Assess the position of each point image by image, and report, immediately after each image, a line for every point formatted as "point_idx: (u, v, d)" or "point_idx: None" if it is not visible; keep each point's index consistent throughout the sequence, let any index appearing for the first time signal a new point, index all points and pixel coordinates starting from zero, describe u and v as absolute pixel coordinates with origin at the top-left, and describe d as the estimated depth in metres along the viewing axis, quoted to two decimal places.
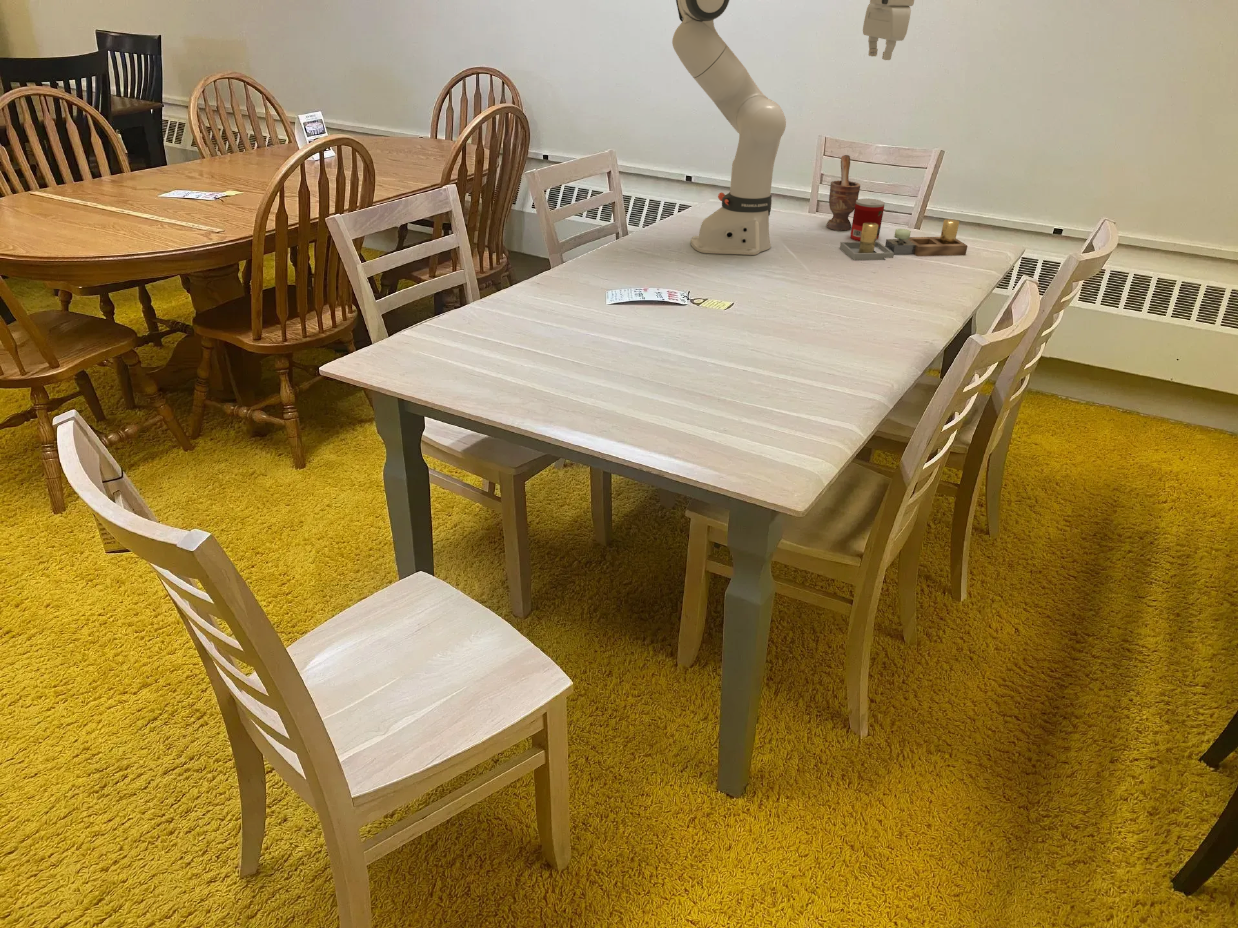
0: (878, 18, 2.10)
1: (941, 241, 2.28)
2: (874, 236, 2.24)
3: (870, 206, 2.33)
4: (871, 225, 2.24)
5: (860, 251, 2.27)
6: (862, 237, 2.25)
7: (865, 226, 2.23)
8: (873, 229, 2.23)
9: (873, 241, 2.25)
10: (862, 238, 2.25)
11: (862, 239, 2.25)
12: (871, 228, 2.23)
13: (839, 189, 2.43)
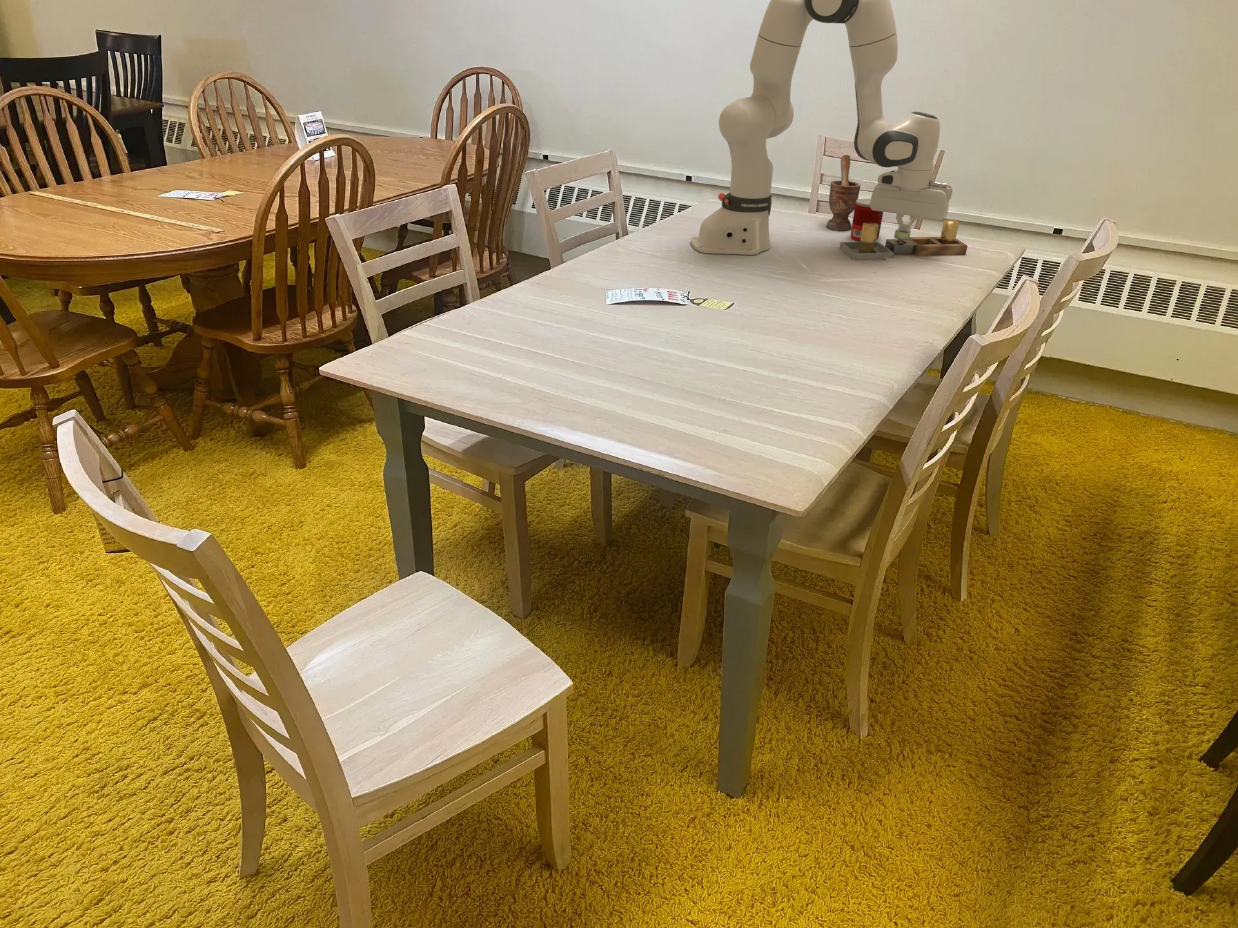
0: None
1: (941, 241, 2.28)
2: (874, 236, 2.24)
3: None
4: (871, 225, 2.24)
5: (860, 251, 2.27)
6: (862, 237, 2.25)
7: (865, 226, 2.23)
8: (873, 229, 2.23)
9: (873, 241, 2.25)
10: (862, 238, 2.25)
11: (862, 239, 2.25)
12: (871, 228, 2.23)
13: (839, 189, 2.43)
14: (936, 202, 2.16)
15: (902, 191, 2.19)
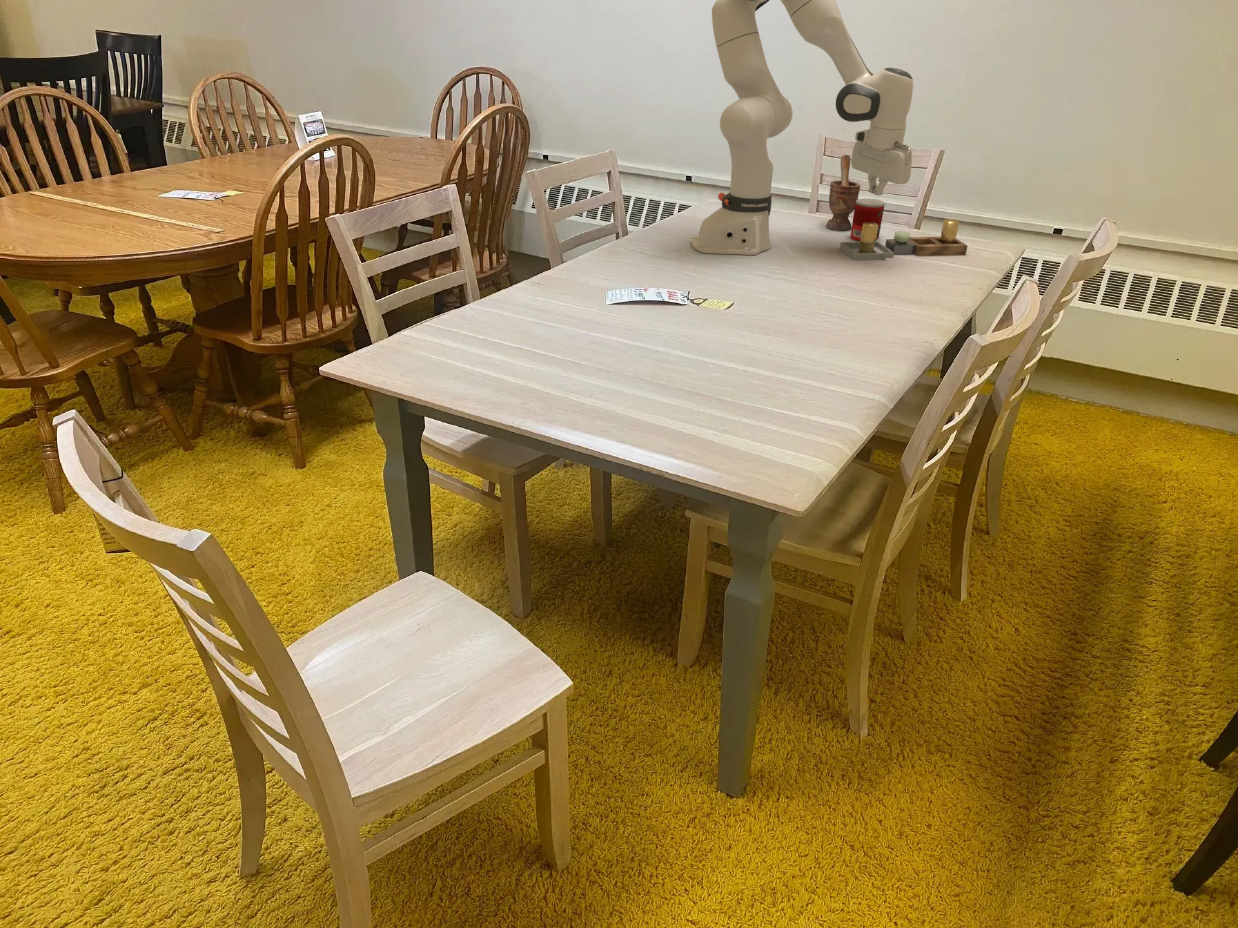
0: None
1: (941, 241, 2.28)
2: (874, 236, 2.24)
3: (870, 206, 2.33)
4: (871, 225, 2.24)
5: (860, 251, 2.27)
6: (862, 237, 2.25)
7: (865, 226, 2.23)
8: (873, 229, 2.23)
9: (873, 241, 2.25)
10: (862, 238, 2.25)
11: (862, 239, 2.25)
12: (871, 228, 2.23)
13: (839, 189, 2.43)
14: (895, 164, 2.09)
15: (871, 150, 2.15)
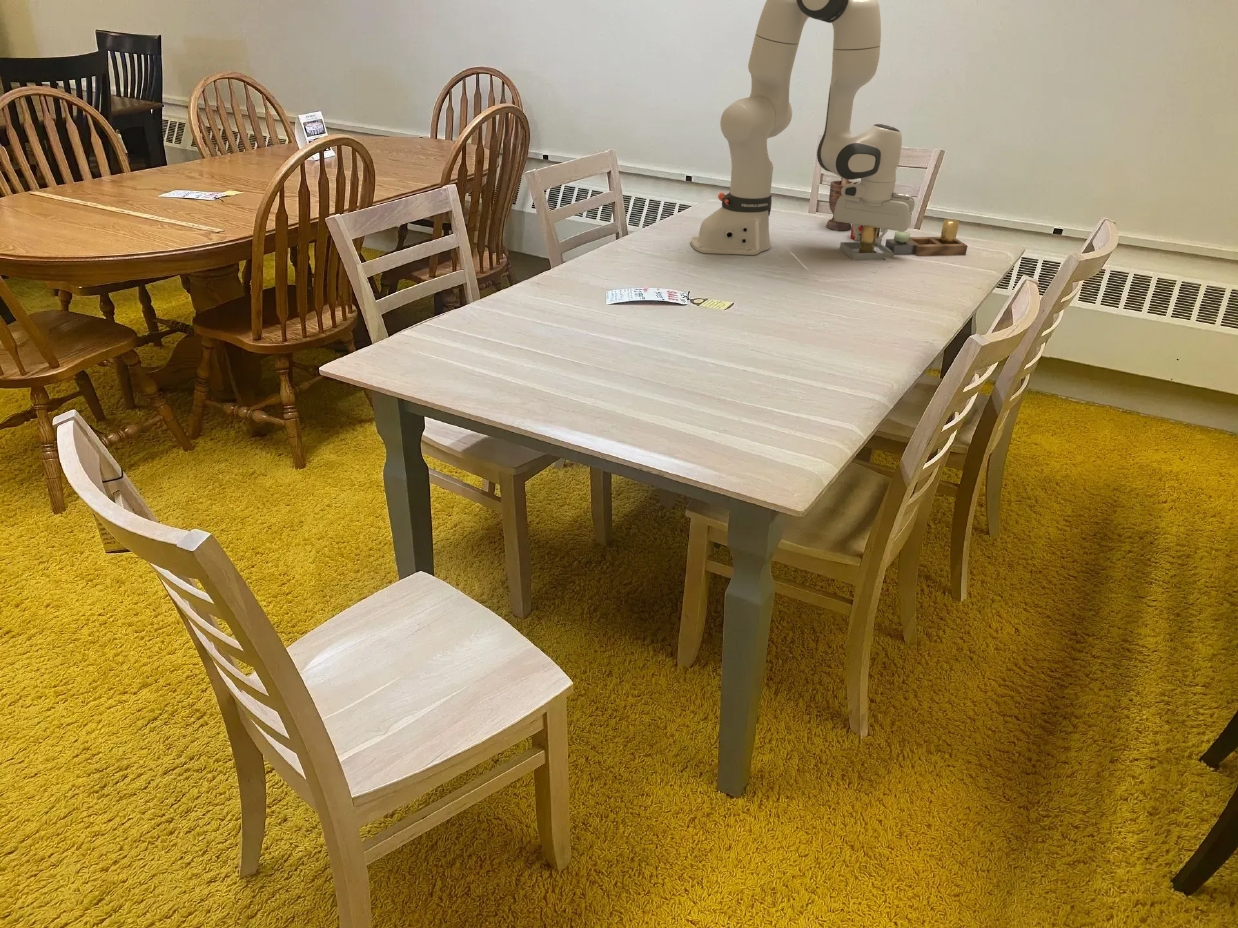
0: None
1: (941, 241, 2.28)
2: (874, 236, 2.24)
3: None
4: None
5: (860, 251, 2.27)
6: (862, 237, 2.25)
7: (865, 226, 2.23)
8: (873, 229, 2.23)
9: (873, 241, 2.25)
10: (862, 238, 2.25)
11: (862, 239, 2.25)
12: (871, 228, 2.23)
13: (839, 189, 2.43)
14: (899, 214, 2.17)
15: (865, 203, 2.20)
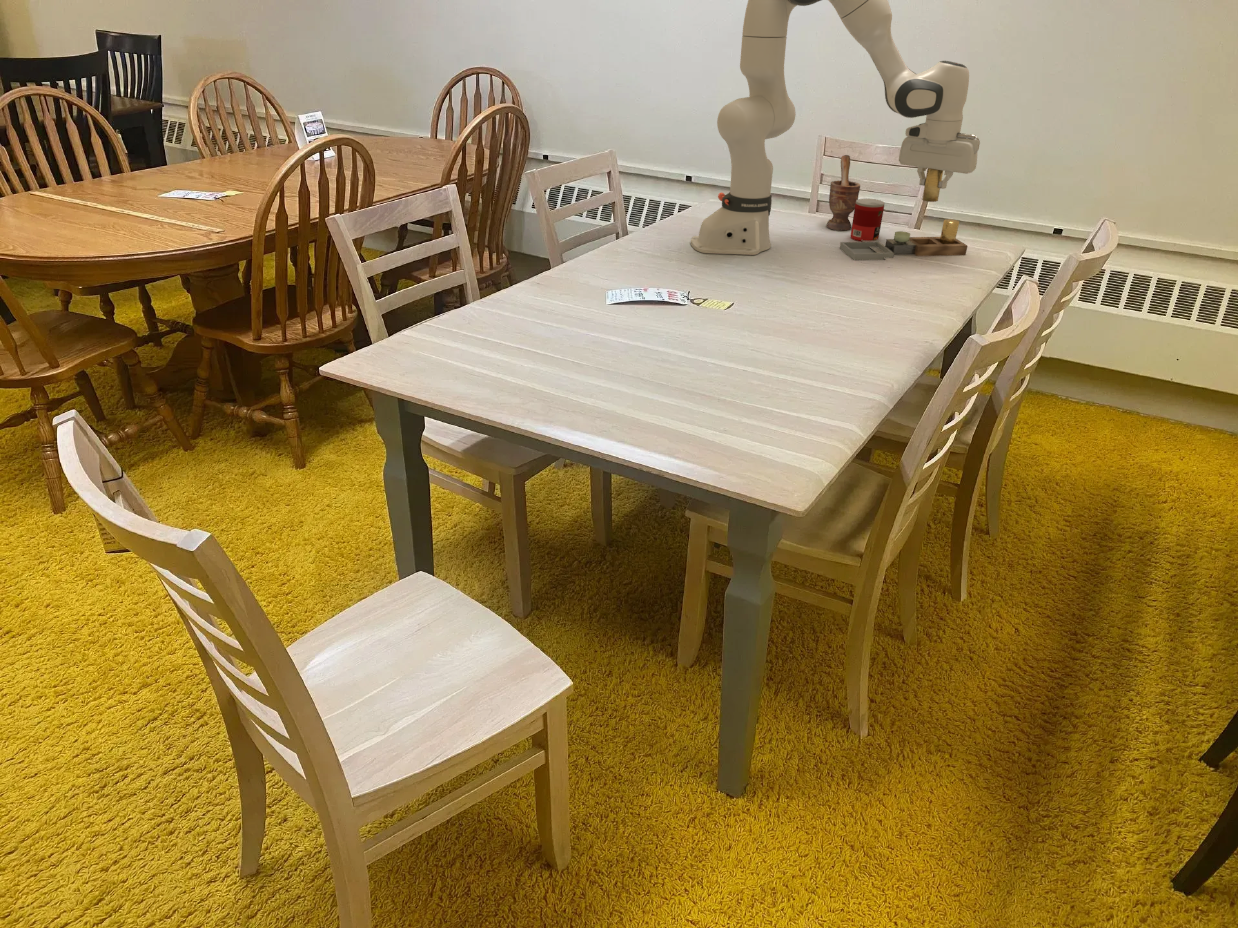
0: None
1: (941, 241, 2.28)
2: (938, 181, 2.18)
3: (870, 206, 2.33)
4: (935, 169, 2.18)
5: (923, 197, 2.21)
6: (926, 182, 2.20)
7: (929, 170, 2.18)
8: (936, 173, 2.17)
9: (937, 186, 2.19)
10: (926, 183, 2.20)
11: (925, 184, 2.20)
12: (935, 173, 2.17)
13: (839, 189, 2.43)
14: (962, 154, 2.10)
15: (929, 144, 2.14)
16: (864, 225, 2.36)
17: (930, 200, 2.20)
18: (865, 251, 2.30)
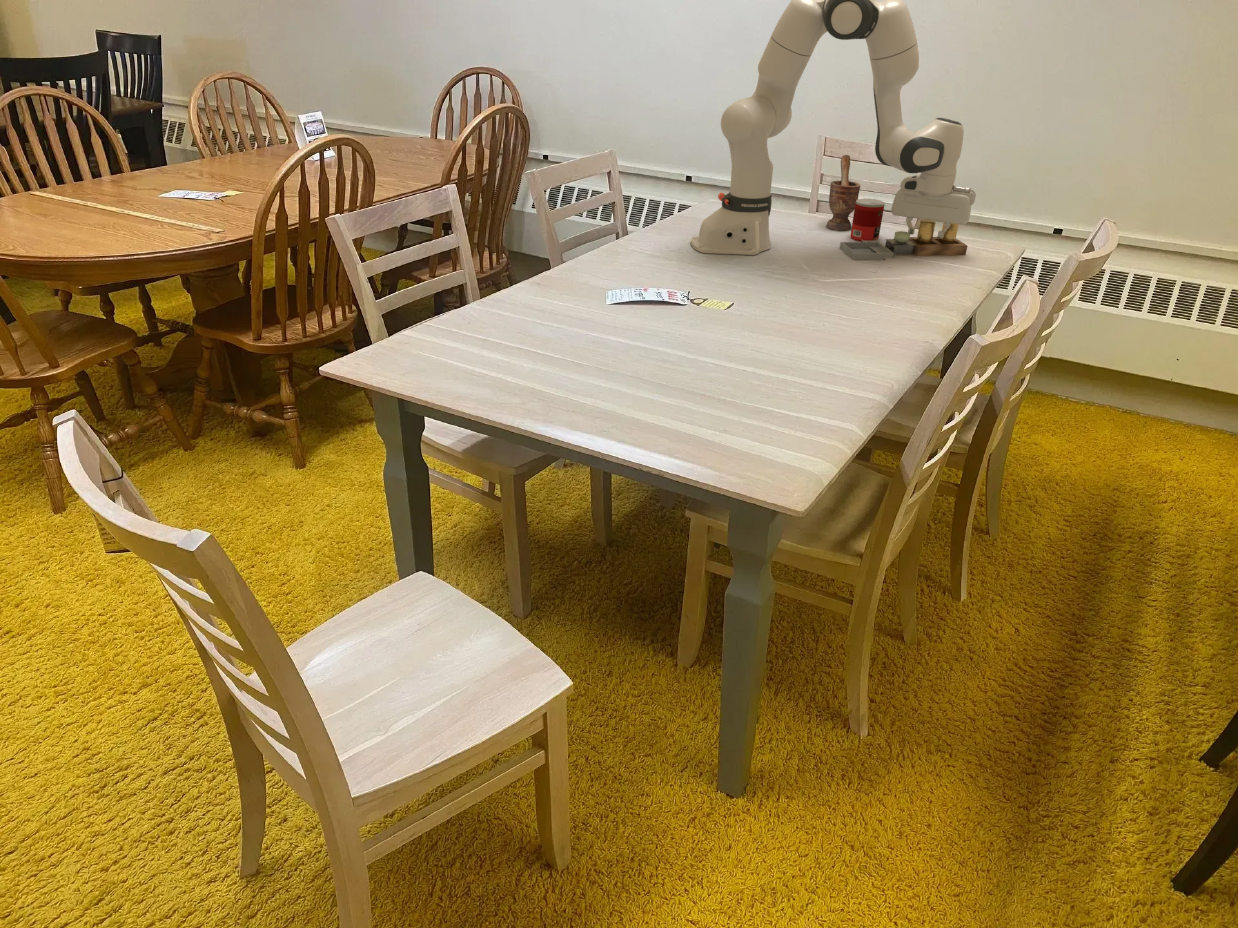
0: None
1: (941, 241, 2.28)
2: (932, 233, 2.26)
3: (870, 206, 2.33)
4: (929, 222, 2.25)
5: None
6: (919, 234, 2.27)
7: (923, 223, 2.25)
8: (931, 226, 2.24)
9: (931, 238, 2.26)
10: (920, 235, 2.27)
11: (919, 236, 2.27)
12: (930, 226, 2.24)
13: (839, 189, 2.43)
14: (960, 207, 2.19)
15: (925, 196, 2.21)
16: (864, 225, 2.36)
17: None
18: (865, 251, 2.30)
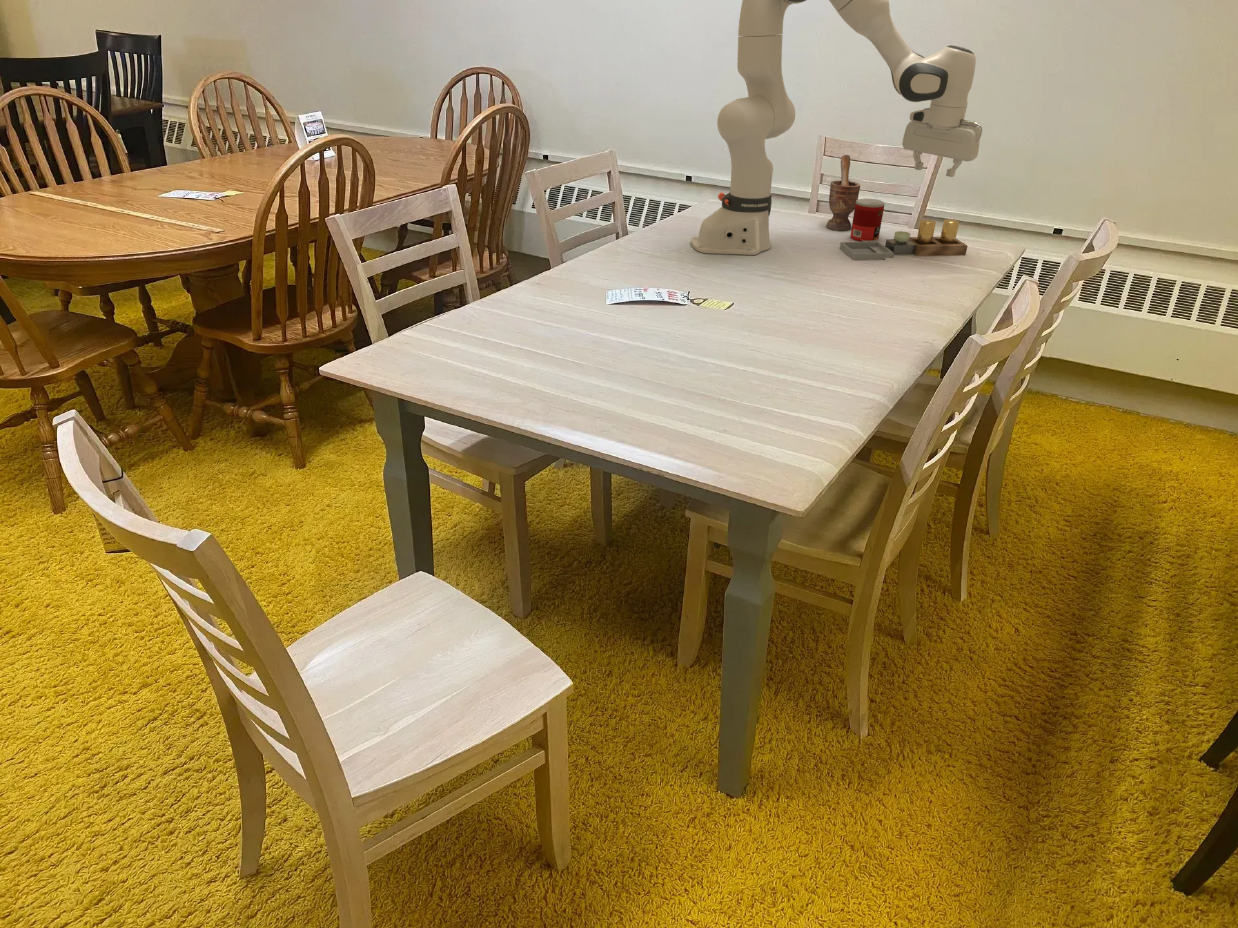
0: None
1: (941, 241, 2.28)
2: (932, 233, 2.26)
3: (870, 206, 2.33)
4: (929, 222, 2.25)
5: None
6: (919, 234, 2.27)
7: (923, 223, 2.25)
8: (931, 226, 2.24)
9: (931, 238, 2.26)
10: (920, 235, 2.27)
11: (920, 236, 2.27)
12: (930, 226, 2.24)
13: (839, 189, 2.43)
14: (964, 142, 2.09)
15: (932, 129, 2.14)
16: (864, 225, 2.36)
17: None
18: (865, 251, 2.30)
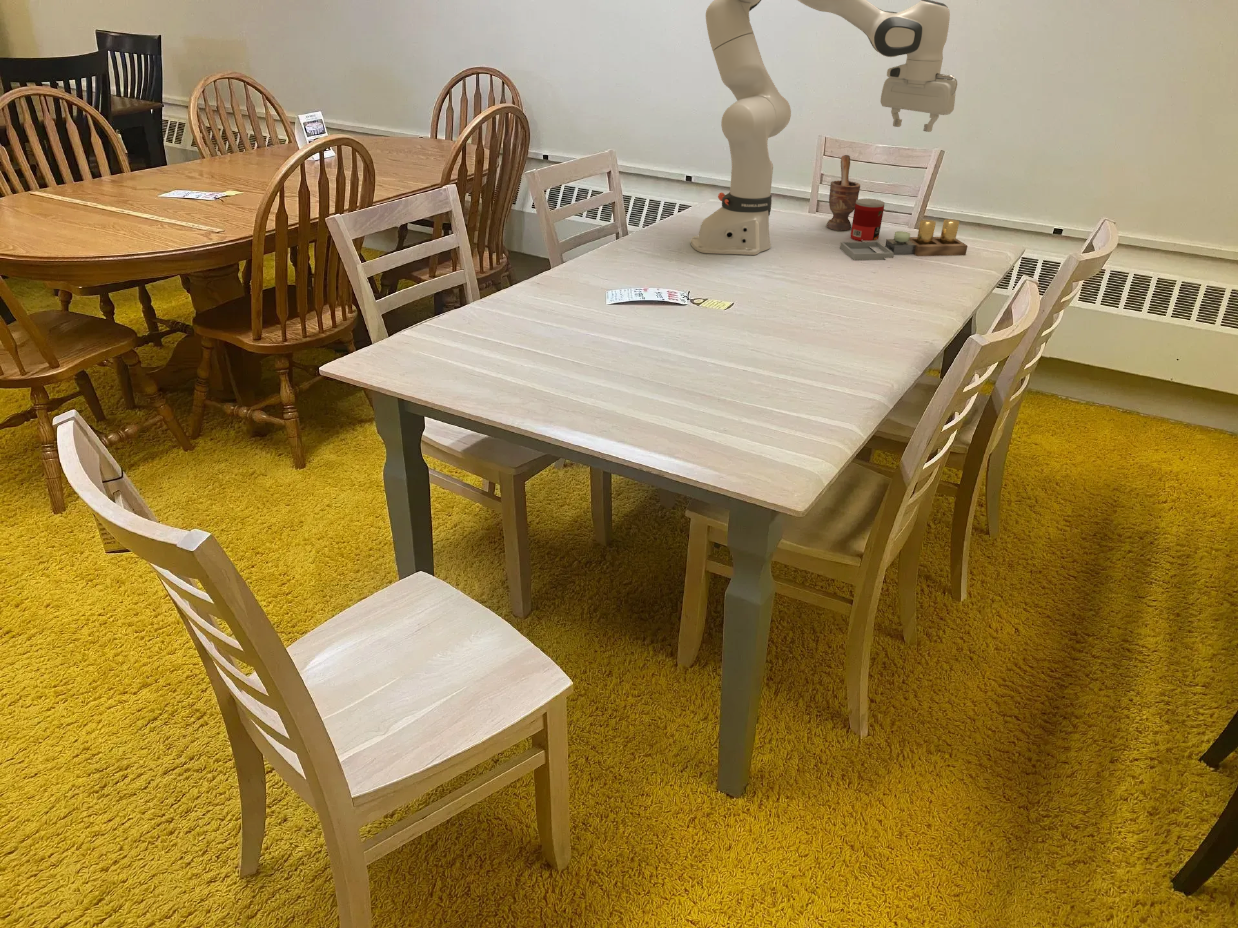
0: None
1: (941, 241, 2.28)
2: (932, 233, 2.26)
3: (870, 206, 2.33)
4: (929, 222, 2.25)
5: None
6: (920, 234, 2.27)
7: (923, 223, 2.25)
8: (931, 226, 2.24)
9: (931, 238, 2.26)
10: (920, 235, 2.27)
11: (920, 236, 2.27)
12: (930, 226, 2.24)
13: (839, 189, 2.43)
14: (940, 95, 2.11)
15: (908, 84, 2.16)
16: (864, 225, 2.36)
17: None
18: (865, 251, 2.30)
